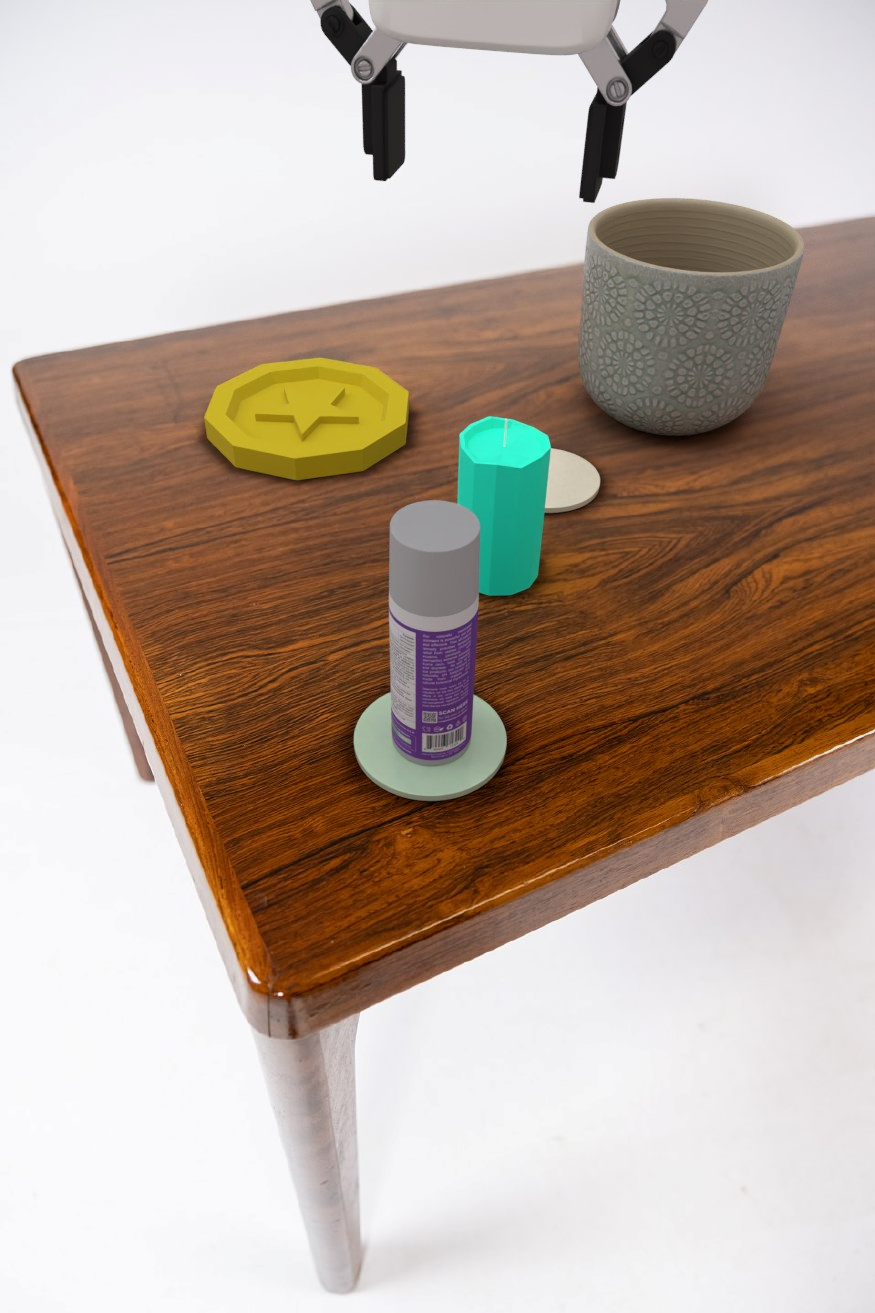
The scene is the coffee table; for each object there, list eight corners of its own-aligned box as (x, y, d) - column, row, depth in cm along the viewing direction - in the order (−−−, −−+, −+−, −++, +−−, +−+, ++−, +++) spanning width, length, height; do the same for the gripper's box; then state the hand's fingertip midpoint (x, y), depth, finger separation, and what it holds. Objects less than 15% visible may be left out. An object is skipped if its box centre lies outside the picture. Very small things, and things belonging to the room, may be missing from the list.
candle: (443, 553, 74) (447, 403, 66) (520, 539, 75) (533, 391, 67) (470, 602, 70) (477, 449, 62) (551, 587, 71) (568, 435, 63)
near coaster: (520, 705, 62) (521, 700, 62) (486, 816, 56) (487, 810, 55) (380, 677, 64) (380, 671, 64) (332, 782, 57) (331, 776, 57)
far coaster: (607, 461, 84) (608, 456, 83) (590, 521, 77) (590, 516, 77) (500, 445, 85) (501, 440, 85) (475, 502, 79) (475, 497, 78)
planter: (779, 390, 93) (825, 218, 83) (731, 477, 82) (776, 290, 72) (606, 350, 99) (629, 185, 89) (539, 426, 88) (555, 247, 77)
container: (479, 717, 61) (492, 507, 51) (459, 774, 57) (469, 560, 47) (404, 701, 62) (403, 491, 52) (381, 756, 58) (374, 543, 48)
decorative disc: (435, 460, 83) (435, 439, 82) (219, 491, 79) (216, 468, 78) (385, 370, 95) (385, 349, 94) (196, 392, 91) (193, 371, 90)
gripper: (245, -337, 35) (286, 189, 46) (763, -328, 32) (668, 230, 43) (317, -326, 40) (337, 142, 52) (765, -318, 37) (680, 176, 49)
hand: (488, 182), depth 47 cm, fingers open, 9 cm apart
